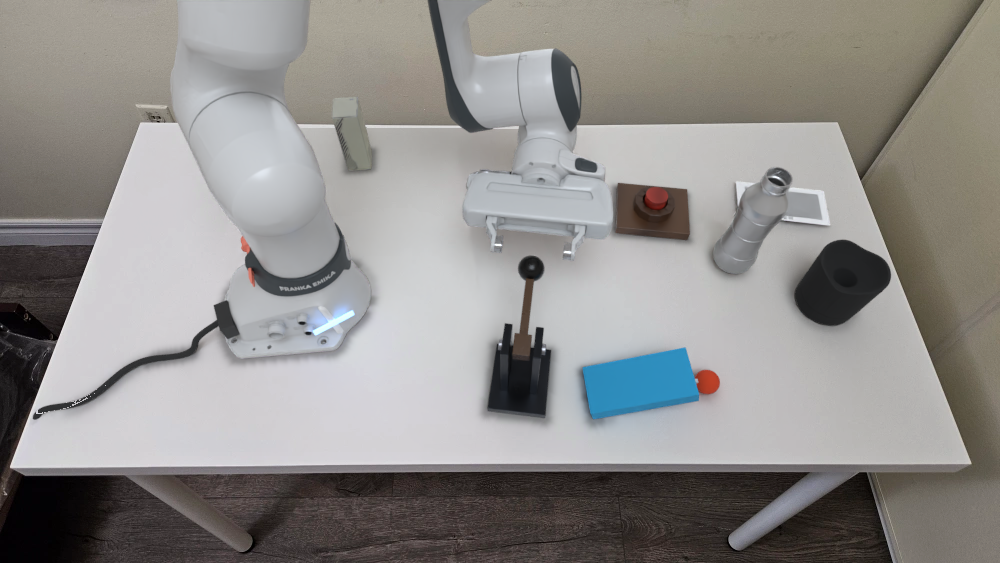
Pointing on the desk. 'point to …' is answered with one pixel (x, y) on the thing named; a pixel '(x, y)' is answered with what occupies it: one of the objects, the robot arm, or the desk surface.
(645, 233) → the button block
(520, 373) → the bracket
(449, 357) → the desk surface
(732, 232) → the plastic bottle
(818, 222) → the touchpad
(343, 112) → the box
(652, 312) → the desk surface
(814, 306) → the pen holder
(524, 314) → the lever
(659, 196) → the button
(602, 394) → the blue block with knob
